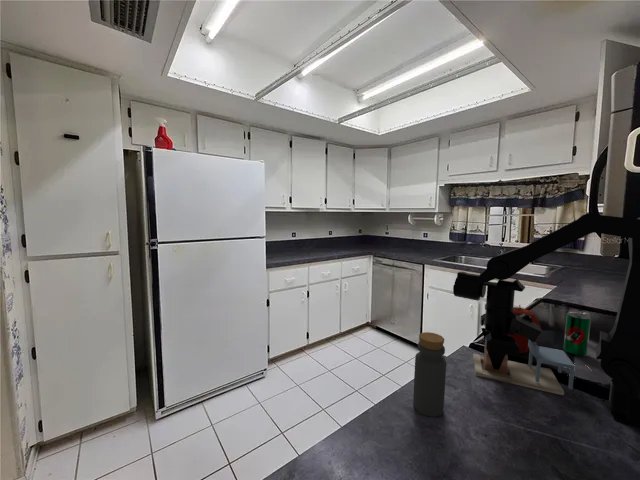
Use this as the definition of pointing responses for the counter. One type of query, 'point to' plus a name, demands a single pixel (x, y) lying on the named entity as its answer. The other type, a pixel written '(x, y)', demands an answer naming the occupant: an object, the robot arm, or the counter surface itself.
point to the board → (520, 375)
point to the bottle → (430, 375)
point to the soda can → (577, 332)
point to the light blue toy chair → (550, 360)
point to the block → (489, 366)
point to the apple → (520, 339)
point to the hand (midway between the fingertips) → (494, 364)
